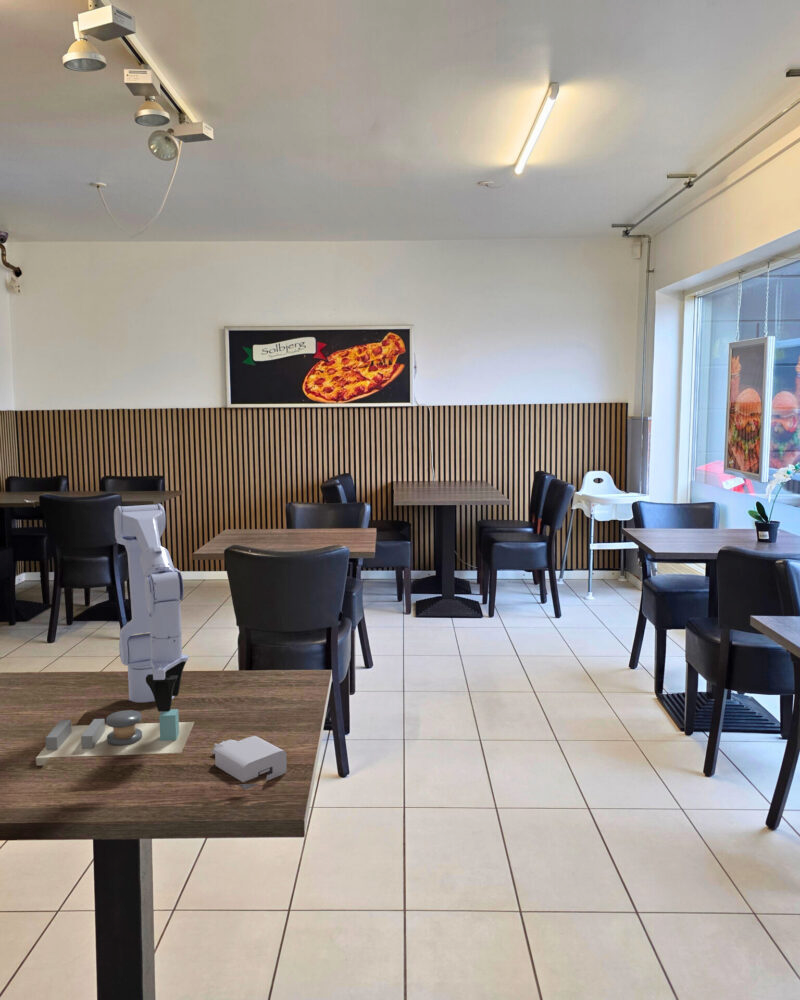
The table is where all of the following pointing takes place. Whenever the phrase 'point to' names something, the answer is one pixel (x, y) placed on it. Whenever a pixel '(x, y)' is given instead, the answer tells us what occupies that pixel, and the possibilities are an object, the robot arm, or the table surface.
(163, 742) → the board
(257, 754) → the charger
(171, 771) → the table surface
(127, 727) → the bobbin
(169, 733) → the peg
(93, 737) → the gray parallel rails
